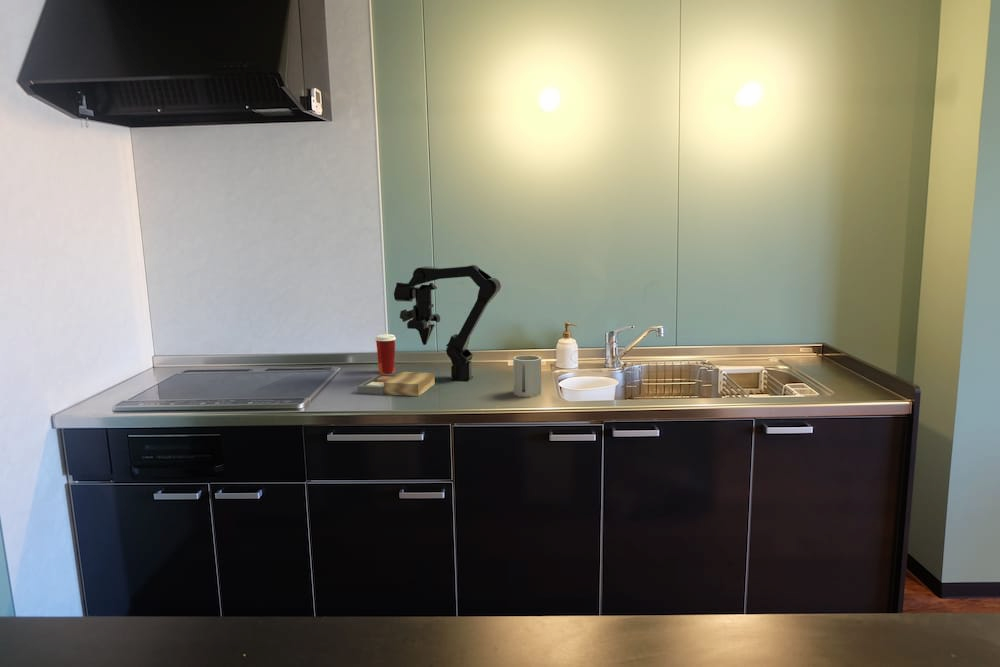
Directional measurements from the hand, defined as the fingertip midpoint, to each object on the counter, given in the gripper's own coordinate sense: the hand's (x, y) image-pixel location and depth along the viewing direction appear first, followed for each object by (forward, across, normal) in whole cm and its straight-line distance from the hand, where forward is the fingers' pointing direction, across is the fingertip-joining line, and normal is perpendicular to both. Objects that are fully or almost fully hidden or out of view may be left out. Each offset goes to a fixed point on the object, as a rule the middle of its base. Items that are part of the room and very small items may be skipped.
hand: (424, 344), depth 249 cm
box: (+12, +18, -9) cm, 23 cm away
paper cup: (+12, -4, -17) cm, 21 cm away
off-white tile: (+10, +22, -10) cm, 26 cm away
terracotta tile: (+10, +14, -10) cm, 19 cm away
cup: (+12, +15, +41) cm, 45 cm away
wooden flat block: (+12, +18, +1) cm, 22 cm away
